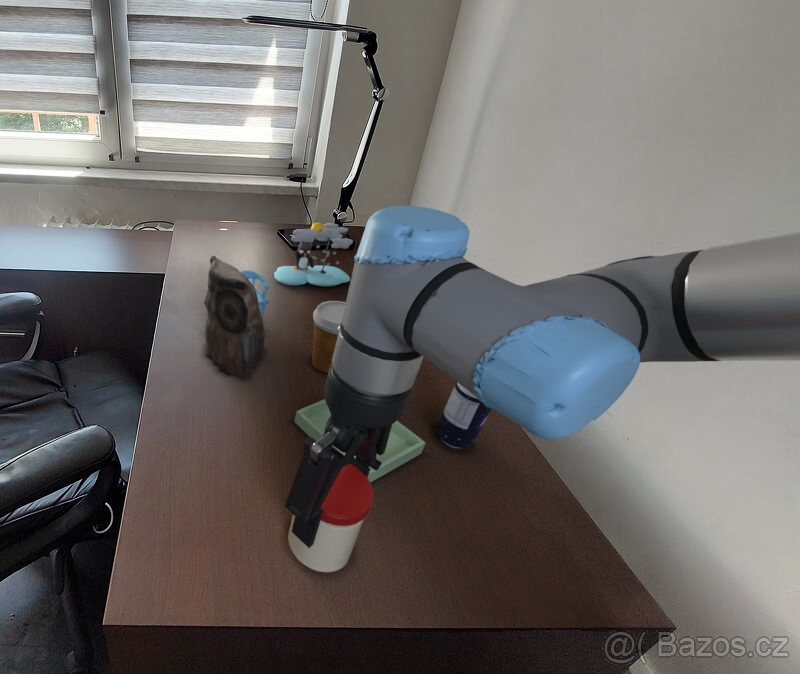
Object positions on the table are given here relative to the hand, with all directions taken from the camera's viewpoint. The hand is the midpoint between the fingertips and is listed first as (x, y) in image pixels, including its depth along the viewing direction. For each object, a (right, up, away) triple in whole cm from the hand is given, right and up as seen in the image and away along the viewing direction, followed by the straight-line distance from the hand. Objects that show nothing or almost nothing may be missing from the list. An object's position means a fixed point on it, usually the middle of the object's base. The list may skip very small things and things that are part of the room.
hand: (325, 516), depth 56 cm
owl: (-8, +18, +35) cm, 40 cm away
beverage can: (+26, +5, +19) cm, 33 cm away
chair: (-5, +25, +46) cm, 53 cm away
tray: (+10, +6, +18) cm, 22 cm away
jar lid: (0, +5, -3) cm, 6 cm away
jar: (0, -4, +3) cm, 5 cm away
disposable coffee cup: (+10, +17, +35) cm, 40 cm away
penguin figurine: (+14, +37, +66) cm, 77 cm away
